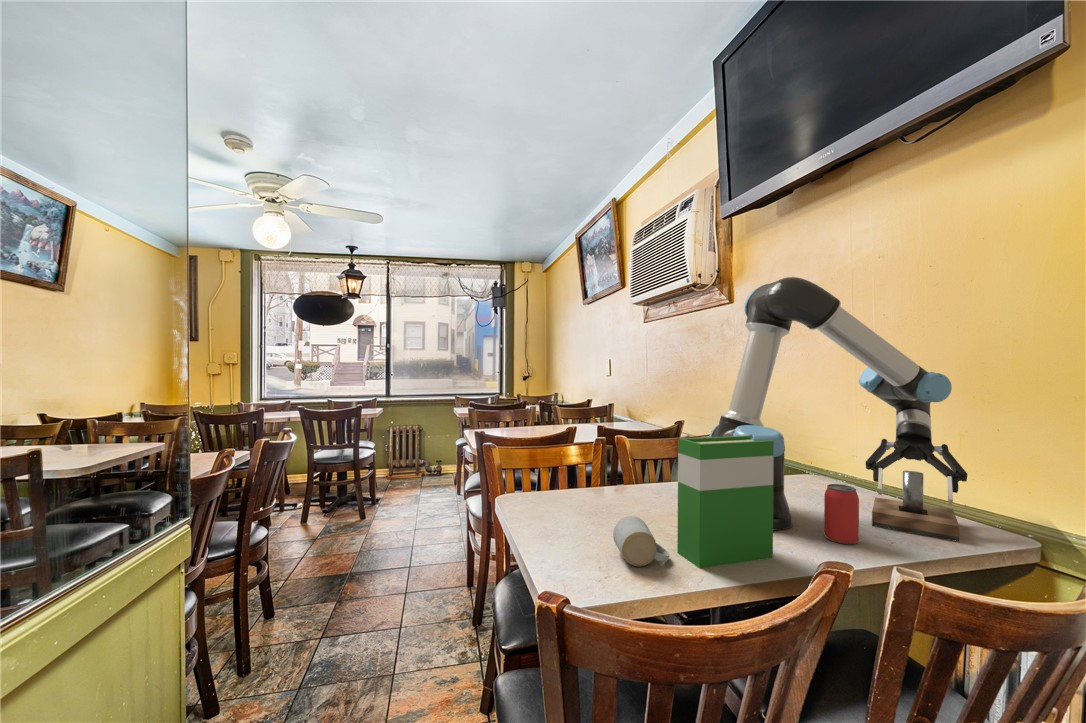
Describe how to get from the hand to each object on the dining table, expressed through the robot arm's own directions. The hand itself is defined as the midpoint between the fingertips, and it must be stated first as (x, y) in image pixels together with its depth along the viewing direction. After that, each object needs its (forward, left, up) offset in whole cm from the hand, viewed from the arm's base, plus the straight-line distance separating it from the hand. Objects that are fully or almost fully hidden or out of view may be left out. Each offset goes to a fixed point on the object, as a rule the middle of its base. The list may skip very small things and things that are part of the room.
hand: (913, 497), depth 113 cm
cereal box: (-31, -48, -7) cm, 58 cm away
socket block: (0, +2, -7) cm, 7 cm away
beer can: (-13, -22, -7) cm, 27 cm away
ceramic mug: (-44, -61, -8) cm, 76 cm away
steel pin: (0, +2, -6) cm, 6 cm away
